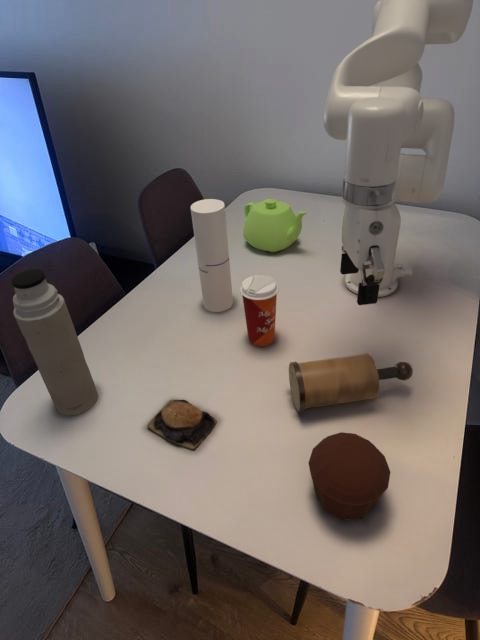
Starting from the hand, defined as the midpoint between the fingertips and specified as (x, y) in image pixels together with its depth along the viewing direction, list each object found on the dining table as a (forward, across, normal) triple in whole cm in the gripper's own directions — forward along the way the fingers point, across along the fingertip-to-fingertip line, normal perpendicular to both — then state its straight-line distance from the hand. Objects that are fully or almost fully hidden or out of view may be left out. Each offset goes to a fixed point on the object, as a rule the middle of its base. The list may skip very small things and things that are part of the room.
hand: (357, 287), depth 79 cm
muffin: (+20, -26, +8) cm, 33 cm away
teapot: (+19, +55, +6) cm, 58 cm away
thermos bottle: (+20, +1, +53) cm, 57 cm away
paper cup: (+20, +13, +15) cm, 28 cm away
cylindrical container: (+19, +28, +24) cm, 41 cm away
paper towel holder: (+15, -7, +12) cm, 20 cm away
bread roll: (+20, -8, +33) cm, 39 cm away
